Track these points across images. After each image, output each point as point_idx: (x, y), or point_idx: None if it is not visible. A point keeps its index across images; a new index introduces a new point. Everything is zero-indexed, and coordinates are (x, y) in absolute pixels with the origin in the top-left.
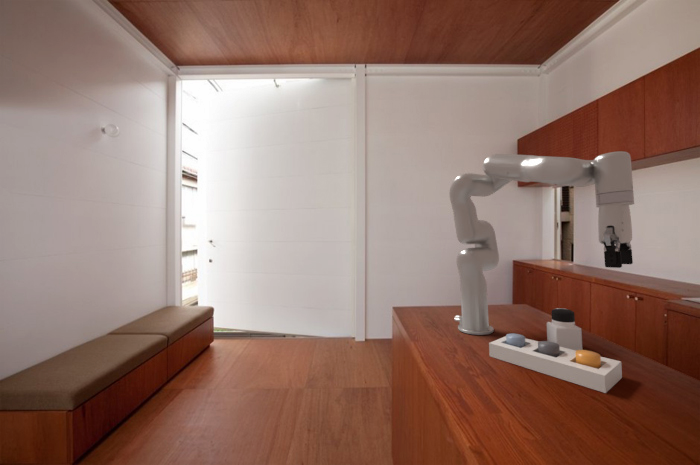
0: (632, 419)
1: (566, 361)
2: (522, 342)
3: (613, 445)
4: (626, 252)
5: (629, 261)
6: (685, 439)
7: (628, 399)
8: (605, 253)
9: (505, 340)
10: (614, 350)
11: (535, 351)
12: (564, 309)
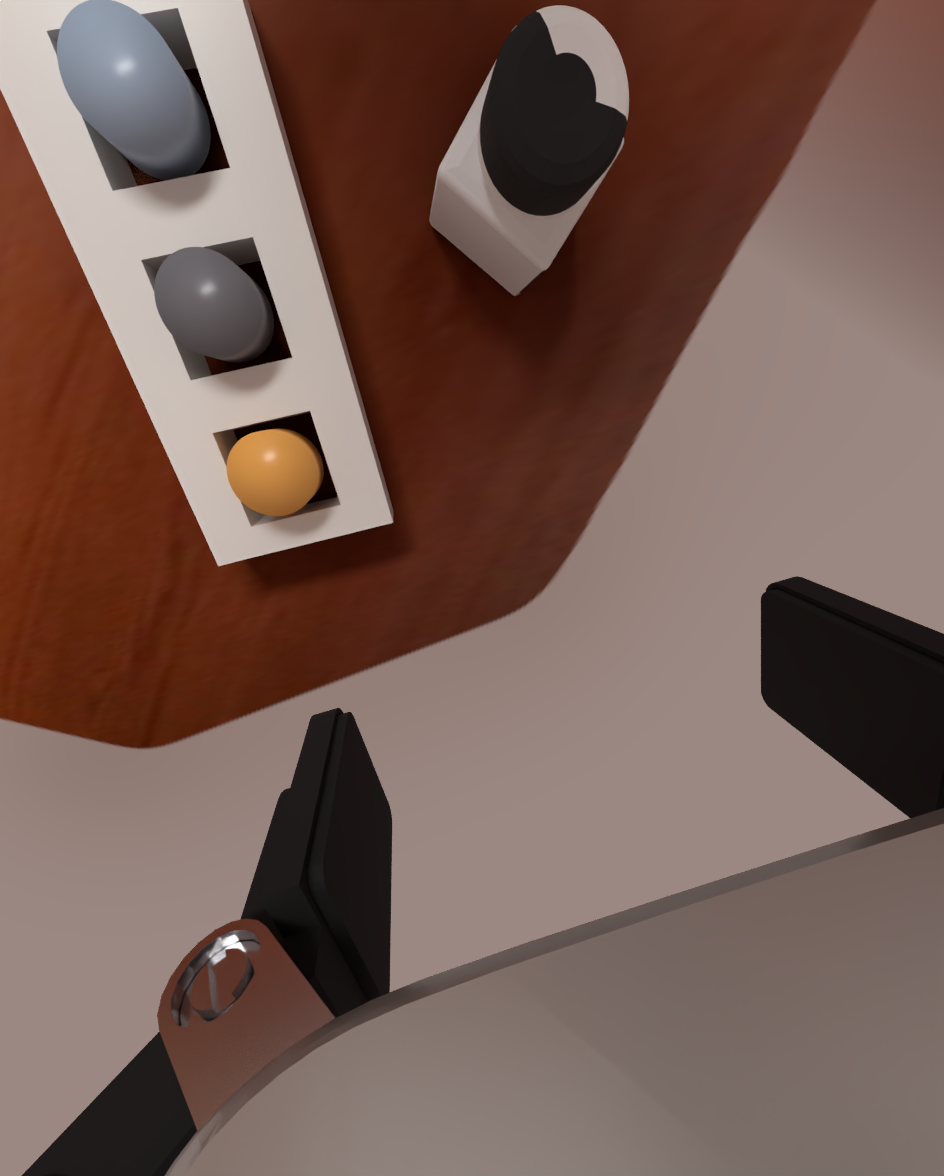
0: (171, 647)
1: (196, 430)
2: (141, 158)
3: (19, 688)
4: (893, 763)
5: (780, 705)
6: (204, 720)
7: (265, 592)
8: (277, 875)
9: None
10: (633, 359)
11: None
12: (579, 103)
